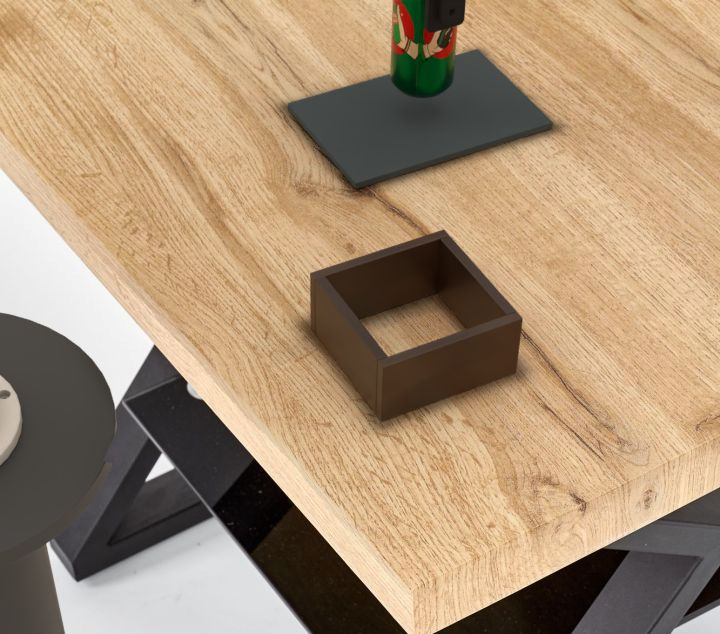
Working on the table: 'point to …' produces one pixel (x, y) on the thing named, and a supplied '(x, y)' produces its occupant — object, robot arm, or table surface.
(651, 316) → the table surface
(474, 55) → the mat
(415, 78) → the soda can
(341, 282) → the frame
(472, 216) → the table surface
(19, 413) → the robot arm
